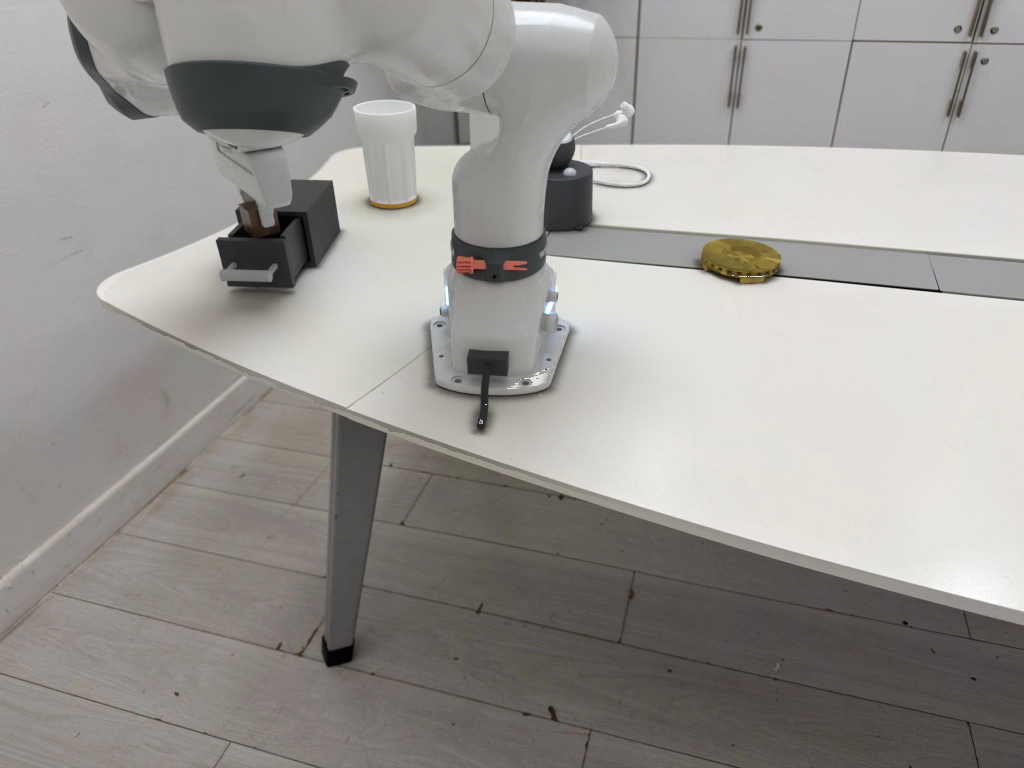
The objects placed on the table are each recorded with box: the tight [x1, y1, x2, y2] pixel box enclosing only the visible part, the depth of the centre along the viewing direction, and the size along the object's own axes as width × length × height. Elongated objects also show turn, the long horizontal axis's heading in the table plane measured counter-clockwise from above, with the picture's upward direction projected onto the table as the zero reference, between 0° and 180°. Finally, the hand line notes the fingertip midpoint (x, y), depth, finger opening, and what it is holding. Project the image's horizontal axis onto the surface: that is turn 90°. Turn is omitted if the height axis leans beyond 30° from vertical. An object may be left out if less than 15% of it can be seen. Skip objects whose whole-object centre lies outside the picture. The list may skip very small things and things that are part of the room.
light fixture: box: [543, 130, 594, 232], centre depth 120 cm, size 13×16×14 cm
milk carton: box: [468, 113, 499, 151], centre depth 135 cm, size 7×7×19 cm
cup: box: [352, 99, 418, 210], centre depth 126 cm, size 11×11×17 cm
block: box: [238, 200, 281, 238], centre depth 98 cm, size 4×4×4 cm
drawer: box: [215, 216, 310, 289], centre depth 101 cm, size 18×10×7 cm, turn 177°
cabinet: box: [234, 178, 341, 268], centre depth 111 cm, size 15×11×9 cm
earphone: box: [572, 101, 652, 188], centre depth 142 cm, size 14×17×18 cm
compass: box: [700, 237, 782, 284], centre depth 107 cm, size 12×12×2 cm
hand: (260, 219), depth 98 cm, fingers closed on block, 4 cm apart
